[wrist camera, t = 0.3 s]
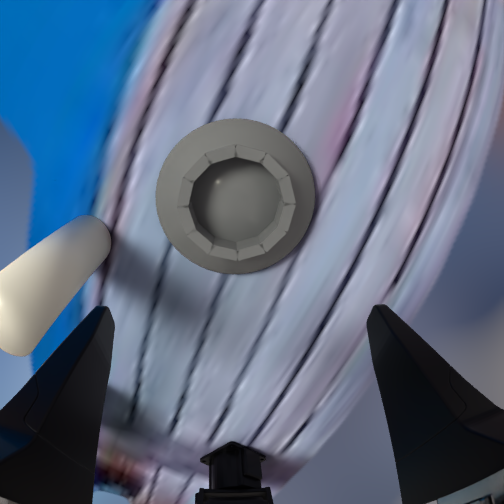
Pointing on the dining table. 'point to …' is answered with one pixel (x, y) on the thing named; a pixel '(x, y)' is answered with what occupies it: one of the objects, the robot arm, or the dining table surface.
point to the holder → (235, 196)
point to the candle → (48, 281)
